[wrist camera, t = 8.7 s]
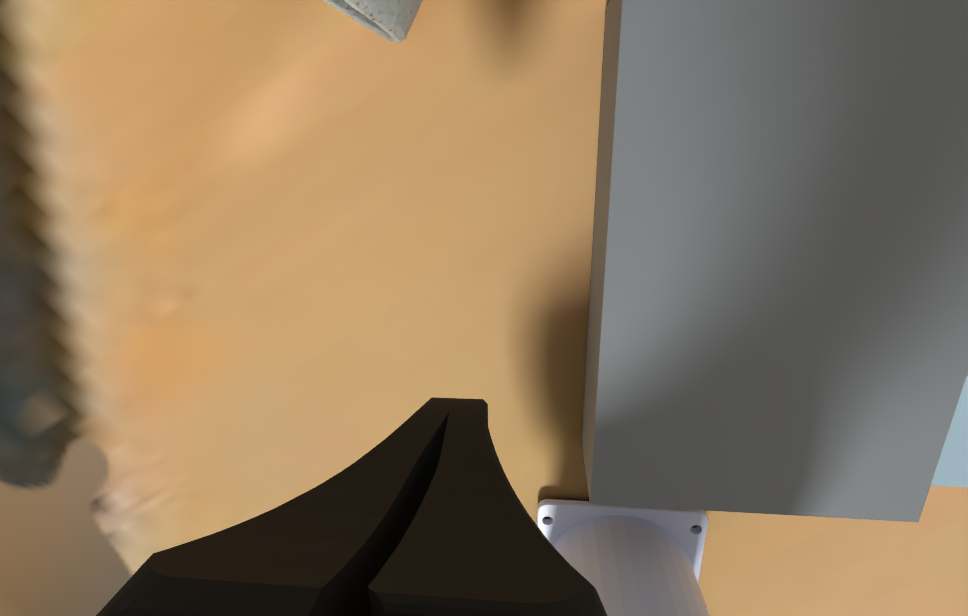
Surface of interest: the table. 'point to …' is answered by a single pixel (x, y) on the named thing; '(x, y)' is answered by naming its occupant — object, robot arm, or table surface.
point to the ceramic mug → (381, 15)
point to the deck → (778, 255)
